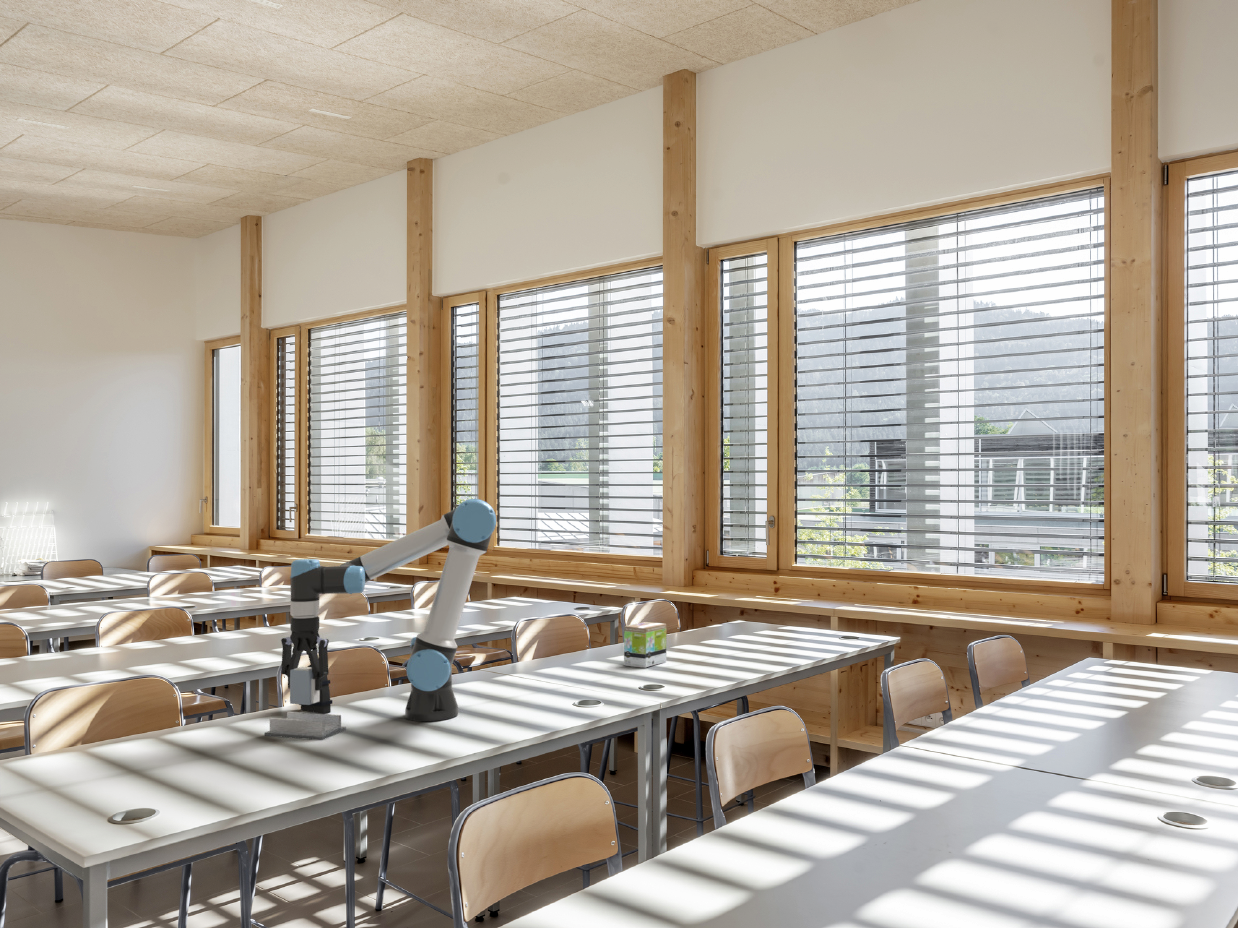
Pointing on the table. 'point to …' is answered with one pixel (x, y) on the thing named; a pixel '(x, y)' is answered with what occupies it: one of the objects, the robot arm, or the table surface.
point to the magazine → (321, 699)
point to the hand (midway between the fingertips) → (304, 701)
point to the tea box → (644, 644)
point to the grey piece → (306, 725)
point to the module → (301, 685)
